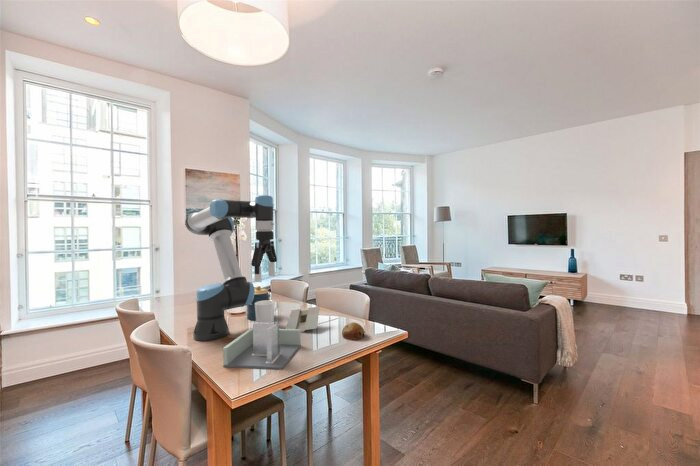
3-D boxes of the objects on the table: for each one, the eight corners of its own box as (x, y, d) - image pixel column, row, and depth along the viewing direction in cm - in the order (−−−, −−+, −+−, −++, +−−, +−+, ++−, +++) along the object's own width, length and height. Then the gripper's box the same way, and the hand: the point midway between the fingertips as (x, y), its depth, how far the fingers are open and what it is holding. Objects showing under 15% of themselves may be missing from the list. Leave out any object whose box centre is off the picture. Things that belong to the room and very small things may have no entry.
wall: (322, 337, 148) (323, 311, 160) (317, 328, 143) (319, 301, 154) (290, 342, 150) (293, 315, 162) (284, 333, 145) (288, 306, 156)
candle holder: (264, 330, 149) (263, 305, 149) (250, 327, 154) (250, 303, 154) (279, 324, 157) (278, 301, 157) (265, 322, 162) (265, 299, 162)
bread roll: (356, 339, 144) (351, 323, 146) (371, 335, 137) (365, 317, 139) (341, 345, 137) (335, 328, 139) (356, 341, 130) (350, 322, 132)
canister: (263, 312, 181) (262, 283, 181) (275, 316, 172) (274, 285, 172) (242, 317, 172) (241, 286, 171) (254, 322, 163) (253, 289, 162)
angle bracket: (279, 353, 118) (279, 322, 118) (271, 362, 110) (271, 329, 110) (255, 352, 119) (254, 322, 119) (245, 361, 111) (244, 328, 111)
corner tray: (223, 366, 109) (222, 348, 109) (251, 343, 131) (250, 328, 131) (282, 369, 106) (281, 350, 106) (300, 345, 128) (300, 329, 128)
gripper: (259, 231, 121) (260, 284, 122) (283, 230, 146) (284, 274, 146) (242, 231, 123) (242, 284, 123) (268, 230, 147) (269, 274, 148)
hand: (265, 278), depth 135 cm, fingers open, 13 cm apart
